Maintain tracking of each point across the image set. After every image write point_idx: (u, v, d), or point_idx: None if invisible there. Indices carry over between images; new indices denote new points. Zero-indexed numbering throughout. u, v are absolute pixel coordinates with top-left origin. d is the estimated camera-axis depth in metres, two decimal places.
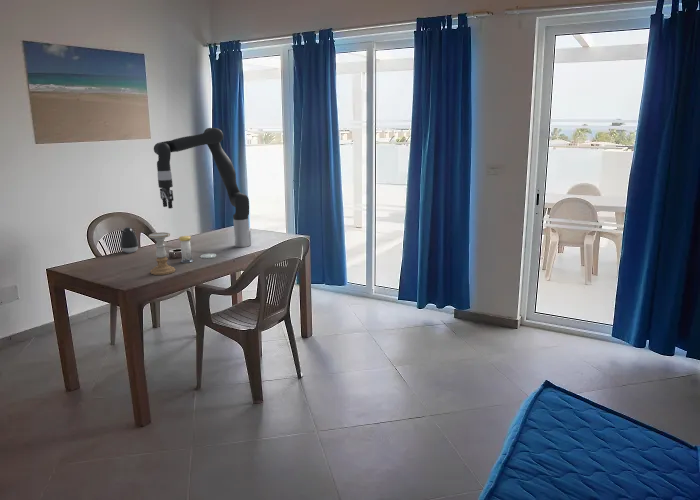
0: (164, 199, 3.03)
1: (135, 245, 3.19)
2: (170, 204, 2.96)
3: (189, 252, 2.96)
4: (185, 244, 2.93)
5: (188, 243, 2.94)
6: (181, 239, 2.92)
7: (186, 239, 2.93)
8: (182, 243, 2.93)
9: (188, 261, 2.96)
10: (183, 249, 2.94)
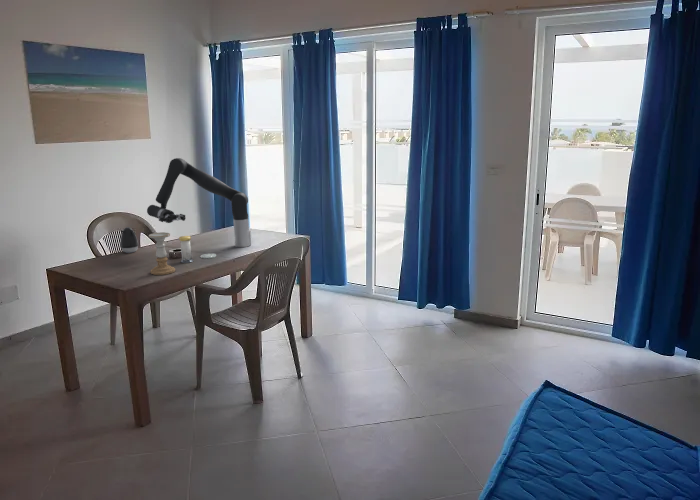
0: (180, 218, 3.07)
1: (135, 245, 3.19)
2: (166, 220, 3.00)
3: (189, 252, 2.96)
4: (185, 244, 2.93)
5: (188, 243, 2.94)
6: (181, 239, 2.92)
7: (186, 239, 2.93)
8: (182, 243, 2.93)
9: (188, 261, 2.96)
10: (183, 249, 2.94)
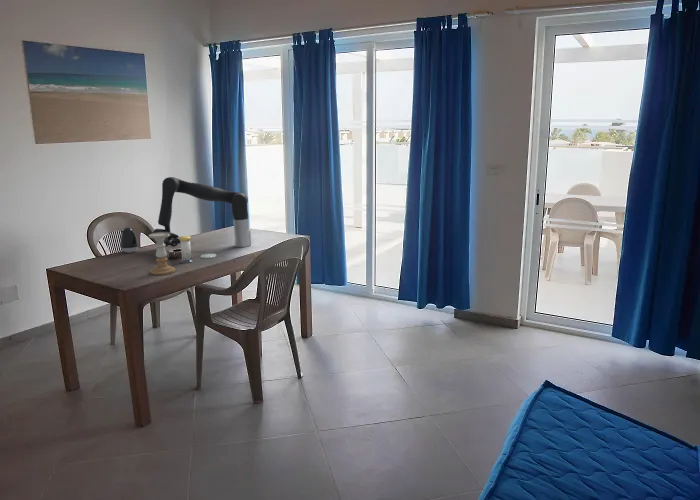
0: None
1: (135, 245, 3.19)
2: (170, 244, 3.00)
3: (189, 252, 2.96)
4: (185, 244, 2.93)
5: (188, 243, 2.94)
6: (181, 239, 2.92)
7: (186, 239, 2.93)
8: (182, 243, 2.93)
9: (188, 261, 2.96)
10: (183, 249, 2.94)
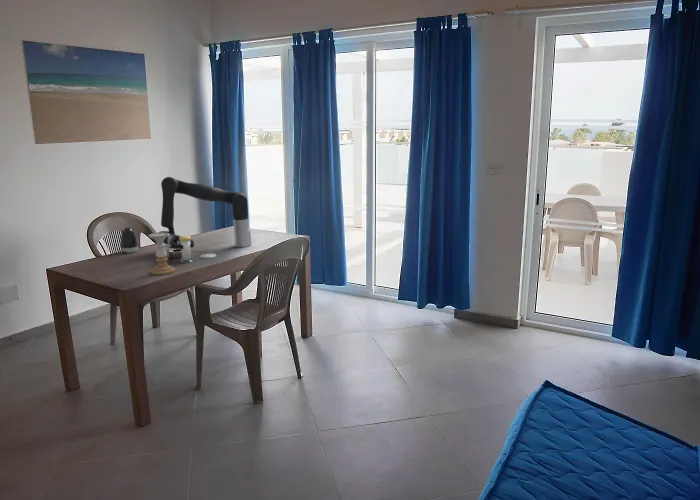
0: None
1: (135, 245, 3.19)
2: (179, 247, 2.94)
3: (189, 252, 2.96)
4: (185, 244, 2.93)
5: (188, 243, 2.94)
6: (181, 239, 2.92)
7: (186, 239, 2.93)
8: (182, 243, 2.93)
9: (188, 261, 2.96)
10: (183, 249, 2.94)
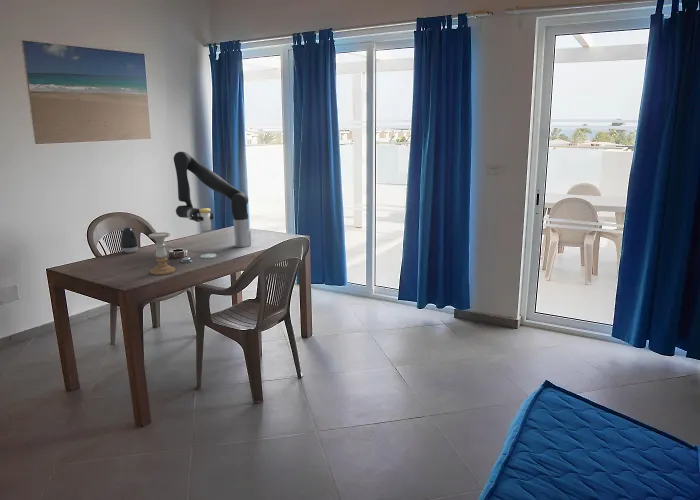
0: None
1: (135, 245, 3.19)
2: (199, 218, 3.01)
3: (209, 224, 3.03)
4: (205, 216, 3.01)
5: (208, 215, 3.02)
6: (201, 211, 3.00)
7: (206, 211, 3.00)
8: (202, 215, 3.01)
9: (188, 261, 2.96)
10: (203, 221, 3.01)
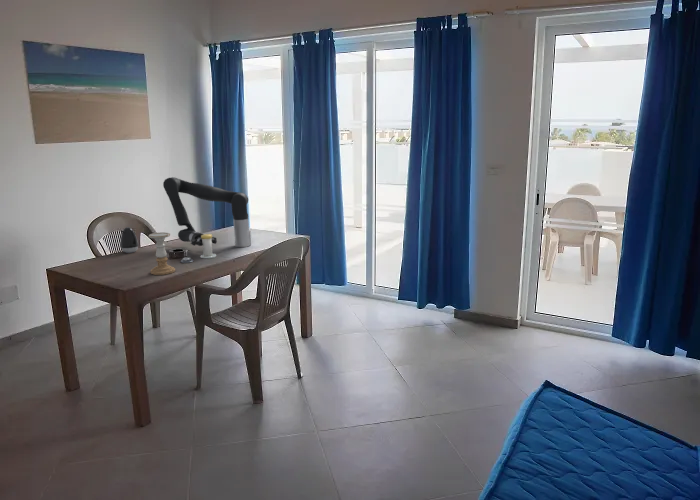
0: (212, 241, 3.11)
1: (135, 245, 3.19)
2: (198, 243, 3.04)
3: (210, 250, 3.07)
4: (207, 242, 3.04)
5: (210, 241, 3.05)
6: (203, 237, 3.03)
7: (208, 237, 3.04)
8: (204, 241, 3.04)
9: (188, 261, 2.96)
10: (205, 247, 3.05)
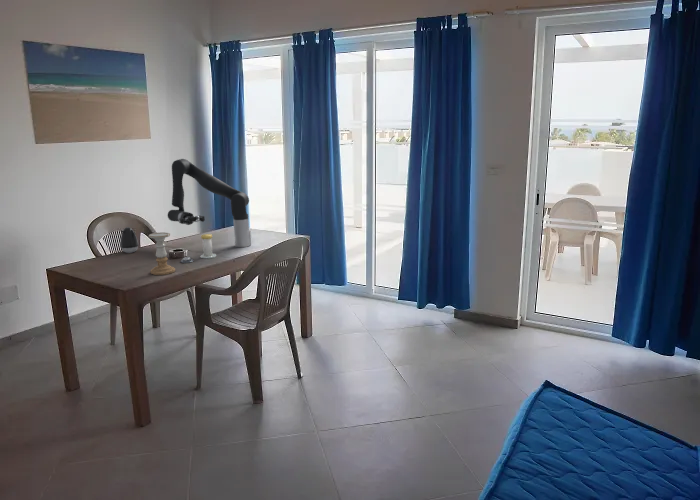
0: (200, 219, 3.18)
1: (135, 245, 3.19)
2: (186, 222, 3.11)
3: (210, 250, 3.07)
4: (207, 242, 3.04)
5: (210, 241, 3.05)
6: (203, 237, 3.03)
7: (208, 237, 3.04)
8: (204, 241, 3.04)
9: (188, 261, 2.96)
10: (205, 247, 3.05)
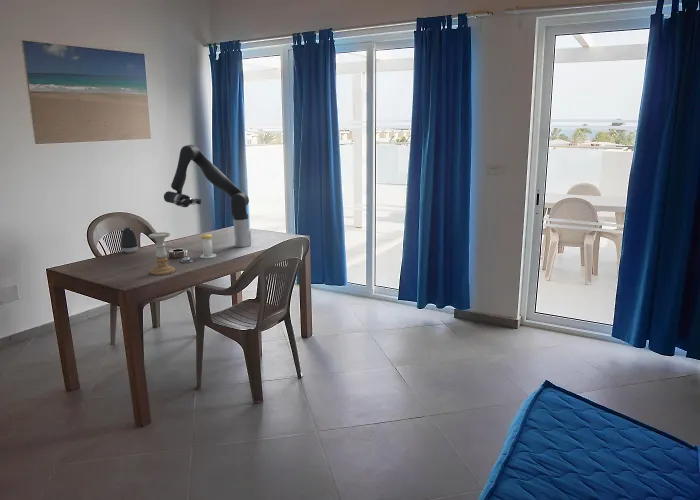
0: (196, 202, 3.16)
1: (135, 245, 3.19)
2: (182, 204, 3.09)
3: (210, 250, 3.07)
4: (207, 242, 3.04)
5: (210, 241, 3.05)
6: (203, 237, 3.03)
7: (208, 237, 3.04)
8: (204, 241, 3.04)
9: (188, 261, 2.96)
10: (205, 247, 3.05)
